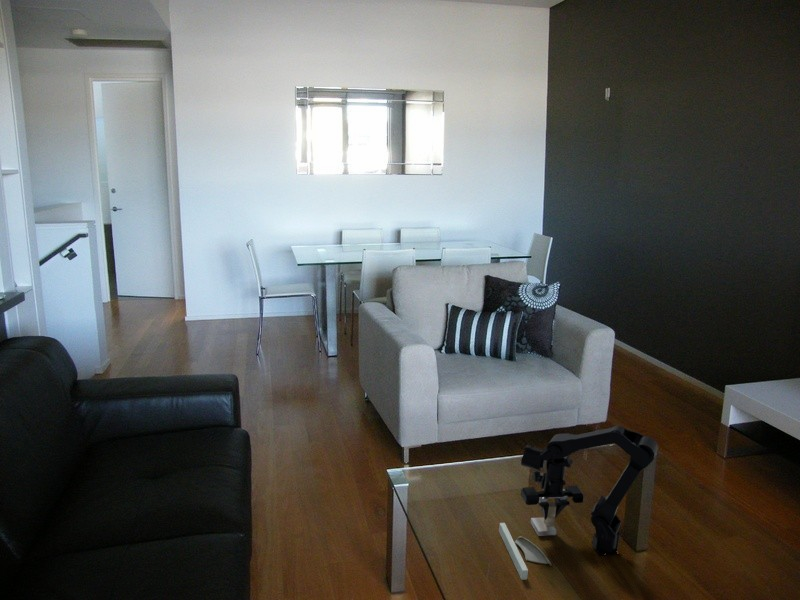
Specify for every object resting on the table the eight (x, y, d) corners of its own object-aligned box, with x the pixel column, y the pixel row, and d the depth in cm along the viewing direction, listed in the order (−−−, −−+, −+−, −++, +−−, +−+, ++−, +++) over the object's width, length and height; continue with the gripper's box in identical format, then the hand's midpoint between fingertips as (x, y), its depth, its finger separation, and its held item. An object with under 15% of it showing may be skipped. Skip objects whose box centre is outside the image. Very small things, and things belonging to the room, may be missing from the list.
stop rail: (503, 531, 205) (504, 522, 204) (527, 579, 184) (528, 570, 183) (498, 531, 205) (499, 523, 204) (521, 579, 184) (522, 570, 183)
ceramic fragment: (552, 567, 190) (553, 555, 189) (539, 573, 187) (541, 561, 186) (518, 541, 201) (519, 530, 200) (506, 546, 198) (507, 535, 197)
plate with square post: (547, 521, 211) (550, 498, 208) (556, 535, 204) (559, 510, 202) (530, 522, 210) (533, 498, 207) (538, 536, 203) (541, 511, 201)
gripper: (573, 460, 211) (567, 502, 215) (517, 462, 208) (512, 505, 212) (587, 478, 200) (581, 523, 205) (529, 481, 197) (524, 525, 202)
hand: (549, 518), depth 206 cm, fingers closed on plate with square post, 2 cm apart
